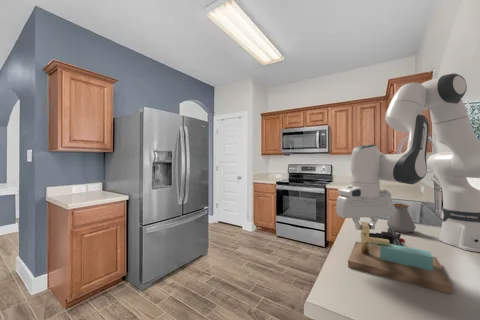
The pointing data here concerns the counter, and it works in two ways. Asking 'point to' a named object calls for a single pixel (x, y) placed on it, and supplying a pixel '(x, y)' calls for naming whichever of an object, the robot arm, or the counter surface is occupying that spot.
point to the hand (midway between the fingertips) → (364, 229)
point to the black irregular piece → (389, 236)
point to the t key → (369, 239)
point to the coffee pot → (401, 219)
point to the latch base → (398, 269)
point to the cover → (407, 256)
